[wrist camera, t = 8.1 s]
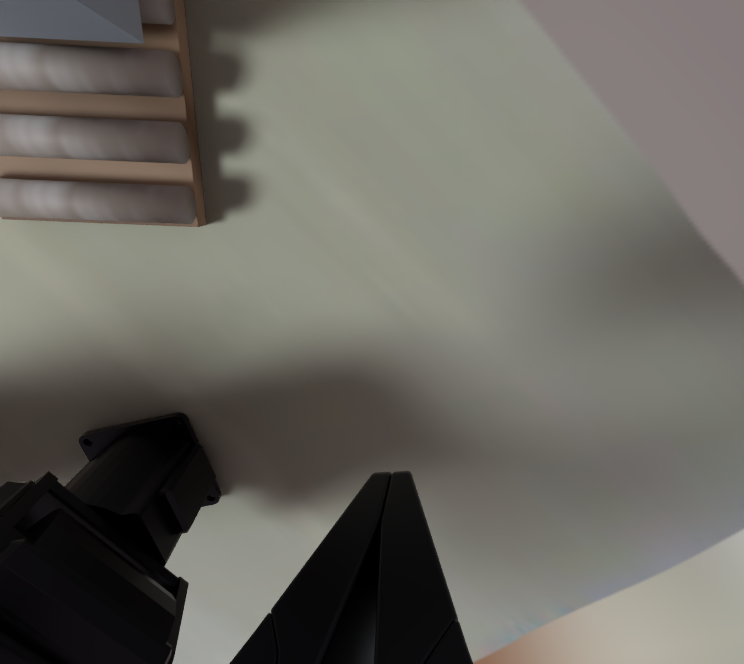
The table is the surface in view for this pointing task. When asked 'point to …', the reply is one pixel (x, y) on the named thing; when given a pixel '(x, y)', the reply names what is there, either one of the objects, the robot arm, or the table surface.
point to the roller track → (113, 112)
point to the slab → (72, 20)
